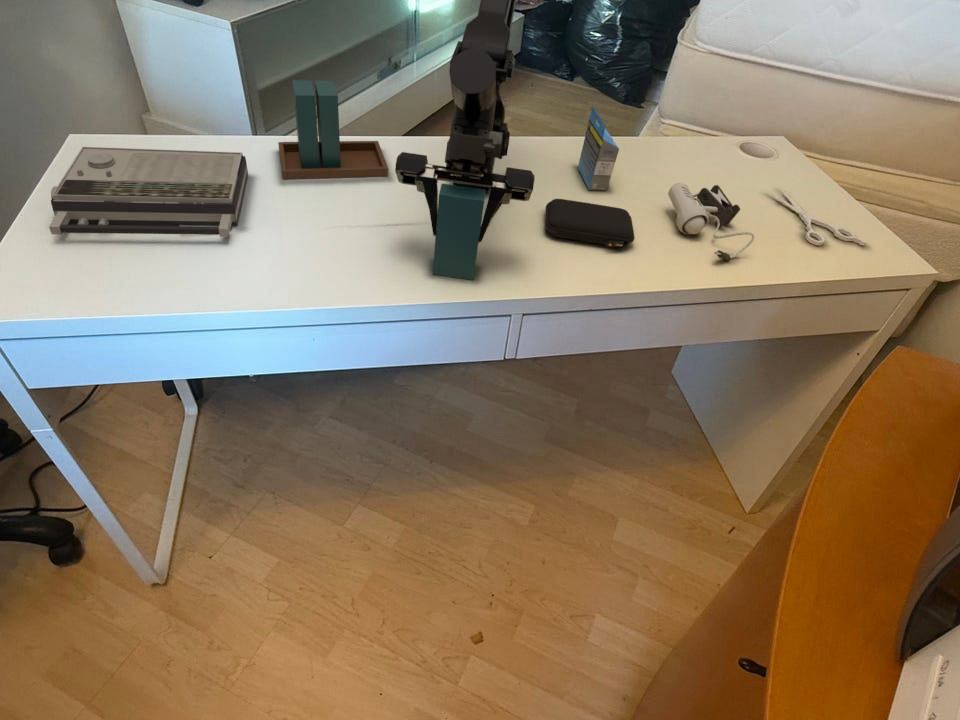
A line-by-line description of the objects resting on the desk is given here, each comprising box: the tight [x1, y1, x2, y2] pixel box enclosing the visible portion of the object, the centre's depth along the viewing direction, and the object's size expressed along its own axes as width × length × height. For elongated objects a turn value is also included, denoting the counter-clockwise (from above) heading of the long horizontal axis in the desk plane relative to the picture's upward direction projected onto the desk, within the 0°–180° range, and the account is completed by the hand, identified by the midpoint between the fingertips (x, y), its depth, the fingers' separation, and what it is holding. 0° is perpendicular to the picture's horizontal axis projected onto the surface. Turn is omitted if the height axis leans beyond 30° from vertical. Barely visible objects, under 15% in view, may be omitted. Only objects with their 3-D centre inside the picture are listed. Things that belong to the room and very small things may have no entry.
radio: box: [48, 146, 249, 237], centre depth 91 cm, size 24×5×20 cm
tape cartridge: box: [577, 104, 620, 192], centre depth 112 cm, size 9×4×12 cm, turn 8°
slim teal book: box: [432, 183, 486, 281], centre depth 86 cm, size 3×6×13 cm, turn 86°
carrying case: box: [544, 198, 635, 248], centre depth 102 cm, size 11×3×15 cm
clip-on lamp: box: [667, 182, 756, 262], centre depth 105 cm, size 12×6×18 cm
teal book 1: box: [292, 79, 320, 169], centre depth 102 cm, size 3×6×13 cm, turn 16°
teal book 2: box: [314, 80, 341, 168], centre depth 103 cm, size 3×6×13 cm, turn 16°
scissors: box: [766, 188, 867, 247], centre depth 115 cm, size 11×1×20 cm
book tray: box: [277, 140, 389, 181], centre depth 108 cm, size 18×11×2 cm, turn 106°
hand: (457, 238), depth 85 cm, fingers closed on slim teal book, 6 cm apart
